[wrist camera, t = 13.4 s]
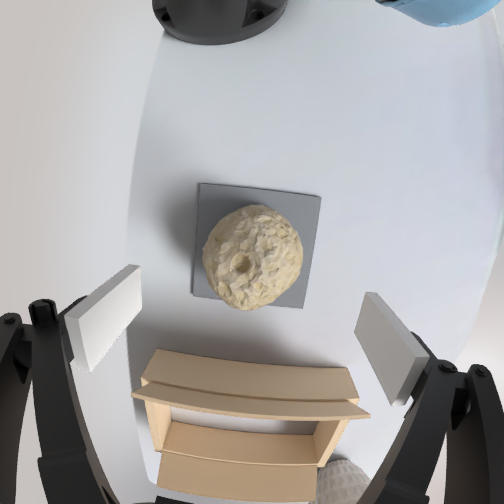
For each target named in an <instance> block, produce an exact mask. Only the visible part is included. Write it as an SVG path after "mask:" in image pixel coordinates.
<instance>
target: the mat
mask: <svg viewBox="0 0 504 504" xmlns="http://www.w3.org/2000/svg"><path fill="white" fill-rule="evenodd" d="M261 204H262V205H264V206H266V207H269V208H271V209H273V210H277V212H278V213H280V214H281V215H282V216H283V217H285V218H286V219H287V220H288V221H289V222H290V223H291V225H292V227H293V228H294V229H295V230H296V231H297V232H298V236H299V238H300V241H301V245H302V247H303V261H302V266H301V269H300V274H299V276H298V277H297V279H296V281H295V282H294V283H293V284H292V285H291V286H290V287H289V289H287V290H285V291H284V292H283V293H282V294H281V295H280V296H279V297H278V298H276V299H275V300H274V302H272V303H269V304H267V305H270V306H280V307H291V308H302V309H303V305H304V300H305V295H306V289H307V284H308V279H309V273H310V267H311V262H312V256H313V250H314V244H315V238H316V231H317V225H318V218H319V211H320V204H321V197H315V196H308V195H301V194H294V193H286V192H278V191H270V190H262V189H253V188H244V187H234V186H224V185H213V184H200V194H199V206H198V218H197V232H196V247H195V265H194V286H193V296H196V297H203V298H211V299H218V300H222V299H221V298H220V297H218V296H217V294H216V293H215V292H214V291H213V290H212V289H211V287H210V286H209V285H208V282H207V275H206V270H205V268H204V265H203V260H202V257H203V251H202V248H203V247H204V246H205V243H206V242H207V241H208V236H209V234H210V232H211V231H212V229H213V228H214V227H215V226H216V224H217V223H218V222H219V220H221V219H222V218H224V217H226V216H227V214H229V213H232V212H234V211H237V209H239V208H242V207H245V206H249V205H261Z"/></svg>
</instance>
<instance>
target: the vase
mask: <svg viewBox="0 0 504 504" xmlns="http://www.w3.org/2000/svg"><path fill="white" fill-rule="evenodd" d="M370 482H371V480H370V478H369V477H368V476H367V474H366V473H365V472H364V471H363V470H362V469H361V468H359V467H358V466H357V465H355V464H354V463H352V462H351V461H349V460H345V459H340V460H335V461H331V462H329V463H327V464H325V466H324V467H321V469H320V471H319V472H318V474H317V484H316V501H309V502H308V504H356V503H357V502H358V500H359V499H360V497H361V496H362V494H363V493H364V492H365V490H366V489H367V487H368V485H369V484H370Z"/></svg>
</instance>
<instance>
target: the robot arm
mask: <svg viewBox="0 0 504 504" xmlns="http://www.w3.org/2000/svg"><path fill="white" fill-rule="evenodd" d="M375 1H376V2H377V3H379V4H381V5H383V6H389V7H392V8H394V9H396V10H398V11H400V12H402V13H404V14H406V15H408V16H410V17H412V18H413V19H415V20H417V21H419V22H421V23H423V24H426V25H430V26H434V27H449V26H452V25H460V24H463V23H466V22H469V21H471V20H473V19H475V18H478V17H479V16H481V15H483V14H484V13H486V12H487V11H489V10H490V9H492V8H493V7H494V6H495V5H496V4H498V3H499V2H500V1H501V0H375ZM286 5H287V0H152V6H153V11H154V13H155V16H156V18H157V19H158V21H159V22H160V23H161V25H162V26H163V27H164V29H165V30H166V31H167V32H168V33H169V34H171V35H172V36H174V37H176V38H178V39H180V40H182V41H185V42H189V43H193V44H200V45H222V44H229V43H234V42H238V41H242V40H245V39H248V38H251V37H253V36H256V35H258V34H260V33H262V32H263V31H265V30H267V29H268V28H269V27H271V26H272V25H273V24H274V23H276V21H277V20H278V19H279V18H280V17H281V16H282V14H283V12H284V11H285V8H286ZM28 308H29V313H30V317H31V321H32V325H30V324H23V323H22V319H21V317H20V315H19V314H17V313H6V314H4V315H3V316H1V317H0V504H15V496H16V475H17V474H16V473H17V461H18V451H19V442H20V435H21V429H22V422H23V416H24V411H25V406H26V402H27V397H28V393H29V389H30V384H31V381H32V383H33V397H34V407H35V416H36V423H37V430H38V436H39V442H40V447H41V452H42V457H39V458H38V468H39V472H40V477H41V480H42V484H43V488H44V491H45V495H46V498H47V501H48V504H120V503H119V501H118V500H117V498H116V496H115V495H114V493H113V491H112V489H111V487H110V485H109V482H108V480H107V478H106V476H105V474H104V472H103V469H102V467H101V464H100V462H99V459H98V457H97V454H96V452H95V449H94V446H93V444H92V441H91V438H90V435H89V432H88V429H87V426H86V423H85V420H84V417H83V413H82V410H81V406H80V403H79V399H78V395H77V392H76V387H75V383H74V379H73V375H72V370H71V366H70V362H71V361H72V360H73V359H74V360H75V364H76V367H77V369H80V370H83V371H86V372H89V373H91V372H92V370H93V369H94V368H95V367H96V365H97V364H98V363H99V361H100V360H101V359H102V358H103V356H104V355H105V354H106V352H107V351H108V350H109V349H110V347H111V346H112V345H113V344H114V342H115V341H116V340H117V339H118V337H119V336H120V335H121V334H122V332H123V331H124V330H125V329H126V327H127V326H128V325H129V324H130V322H131V321H132V320H133V319H134V318H135V316H136V315H137V314H138V313H139V312H140V310H141V309H142V293H141V266H137V265H130V264H129V265H128V266H126V267H125V268H124V269H122V270H121V271H120V272H118V273H117V274H116V275H114V276H113V277H112V278H110V279H109V280H108V281H106V282H105V283H104V284H103V285H101V286H100V287H99V288H98V289H96V290H95V291H94V292H92V293H91V294H90V295H88V296H84V297H81V298H79V299H77V300H76V301H75V302H73V304H71V305H70V306H68V308H66V309H64V310H63V311H62V312H61V313H59V314H57V310H56V304H55V302H54V301H52V300H50V299H40V300H36V301H34V302H32V303H31V304H30V305H29V307H28ZM354 333H355V335H356V337H357V339H358V341H359V343H360V344H361V346H362V348H363V350H364V352H365V354H366V356H367V358H368V360H369V362H370V364H371V366H372V368H373V370H374V372H375V374H376V376H377V378H378V380H379V382H380V384H381V386H382V388H383V390H384V392H385V394H386V396H387V398H388V401H389V403H390V405H391V406H399V405H405V404H406V402H407V401H408V399H409V397H410V395H411V396H412V398H413V400H414V401H413V403H412V405H411V406H410V408H409V410H408V411H407V413H406V415H405V416H404V418H405V420H404V422H403V424H402V426H401V428H400V430H399V432H398V434H397V436H396V438H395V440H394V442H393V444H392V446H391V448H390V450H389V452H388V454H387V455H386V457H385V459H384V461H383V462H382V464H381V466H380V468H379V469H378V471H377V473H376V474H375V476H374V478H373V479H372V481H371V482H370V484H369V485H368V487H367V489H366V490H365V492H364V493H363V494H362V496H361V497H360V499H359V500H358V502H357V503H356V504H428V503H429V500H430V499H429V496H426V495H425V494H426V491H427V488H428V485H429V483H430V480H431V478H432V475H433V472H434V470H435V467H436V464H437V461H438V458H439V455H440V451H441V448H442V445H443V441H444V438H445V434H446V435H447V467H446V468H447V469H446V487H445V498H444V504H504V412H503V409H502V405H501V401H500V398H499V395H498V392H497V389H496V386H495V383H494V380H493V377H492V374H491V372H490V371H489V370H488V369H487V368H486V367H485V366H483V365H479V364H473V365H471V367H470V369H469V370H468V372H467V373H464V372H458V370H457V368H456V366H455V365H454V364H452V363H451V362H449V361H446V360H438V359H437V358H436V356H435V355H434V354H433V353H432V352H431V350H430V349H429V348H427V345H426V344H425V343H424V342H423V341H422V339H421V338H420V337H419V336H418V335H416V334H415V333H413V332H410V331H409V330H408V329H407V327H406V326H405V325H404V324H403V323H402V321H401V320H400V319H399V318H398V317H397V315H396V314H395V313H394V312H393V311H392V310H391V308H390V307H389V306H388V305H387V304H386V303H385V302H384V300H383V299H382V298H381V297H380V296H379V295H378V294H377V293H373V292H365V296H364V300H363V303H362V307H361V311H360V314H359V318H358V321H357V324H356V328H355V331H354ZM136 504H193V503H188V502H183V501H178V500H173V499H169V498H165V497H161V496H157V497H156V501H155V503H136Z"/></svg>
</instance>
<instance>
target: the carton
mask: <svg viewBox="0 0 504 504" xmlns="http://www.w3.org/2000/svg"><path fill="white" fill-rule="evenodd" d="M141 383H142V387H141V388H139V389H137V390H135V391H133V392H132V393H131V397H134V398H138V399H142V400H144V401H145V407H146V412H147V417H148V422H149V427H150V431H151V436H152V440H153V444H154V449H155V451H157V452H161V453H162V456H161V462H160V468H159V474H158V480H157V487H160V488H164V489H168V490H173V491H177V492H182V493H187V494H193V495H198V496H205V497H212V498H219V499H227V500H238V501H251V502H309V501H316V484H317V467H324V466H325V464H326V462H327V461H328V459H329V457H330V455H331V454H332V452H333V450H334V448H335V447H336V445H337V443H338V441H339V439H340V437H341V436H342V434H343V432H344V430H345V428H346V426H347V424H348V422H349V420H352V419H366V418H370V415H371V414H369V413H368V412H366V411H364V410H363V409H361V408H360V407H358V406H356V405H357V403H358V401H359V399H360V398H359V395H358V393H357V390H356V388H355V385H354V383H353V380H352V378H351V375H350V373H349V370H348V368H320V367H297V366H282V365H269V364H258V363H248V362H239V361H231V360H223V359H215V358H208V357H202V356H195V355H189V354H183V353H178V352H172V351H167V350H162V349H156V351H155V353H154V354H153V356H152V358H151V360H150V361H149V363H148V365H147V367H146V368H145V370H144V372H143V374H142V376H141ZM170 406H172V407H177V408H182V409H188V410H193V411H199V412H205V413H212V414H219V415H227V416H235V417H245V418H256V419H270V420H292V421H319V422H318V425H317V427H316V429H315V432H314V434H313V435H286V434H264V433H251V432H240V431H231V430H223V429H215V428H208V427H202V426H196V425H190V424H185V423H180V422H175V421H172V420H171V411H170Z"/></svg>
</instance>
